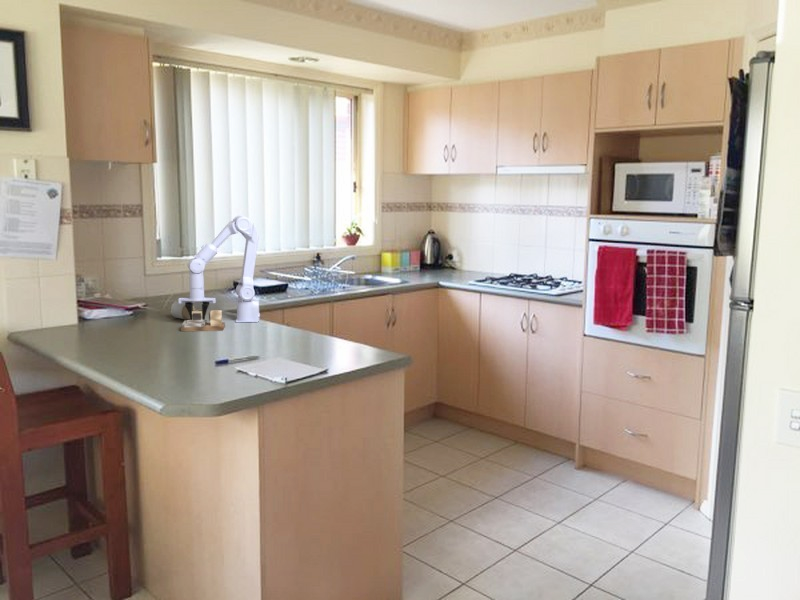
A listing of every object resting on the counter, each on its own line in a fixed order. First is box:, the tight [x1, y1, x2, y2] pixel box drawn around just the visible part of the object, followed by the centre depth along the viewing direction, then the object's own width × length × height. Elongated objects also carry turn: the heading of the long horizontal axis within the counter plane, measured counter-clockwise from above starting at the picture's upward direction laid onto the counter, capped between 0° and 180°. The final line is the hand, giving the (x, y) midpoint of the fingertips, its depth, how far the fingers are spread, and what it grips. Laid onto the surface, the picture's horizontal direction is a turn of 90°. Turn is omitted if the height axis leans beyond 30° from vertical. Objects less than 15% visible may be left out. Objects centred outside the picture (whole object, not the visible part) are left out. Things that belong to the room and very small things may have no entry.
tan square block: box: [192, 309, 203, 320], centre depth 280 cm, size 5×4×6 cm
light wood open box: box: [180, 309, 226, 332], centre depth 271 cm, size 16×9×7 cm, turn 99°
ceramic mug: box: [170, 299, 196, 321], centre depth 292 cm, size 11×8×8 cm
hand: (197, 320), depth 281 cm, fingers closed on tan square block, 4 cm apart
